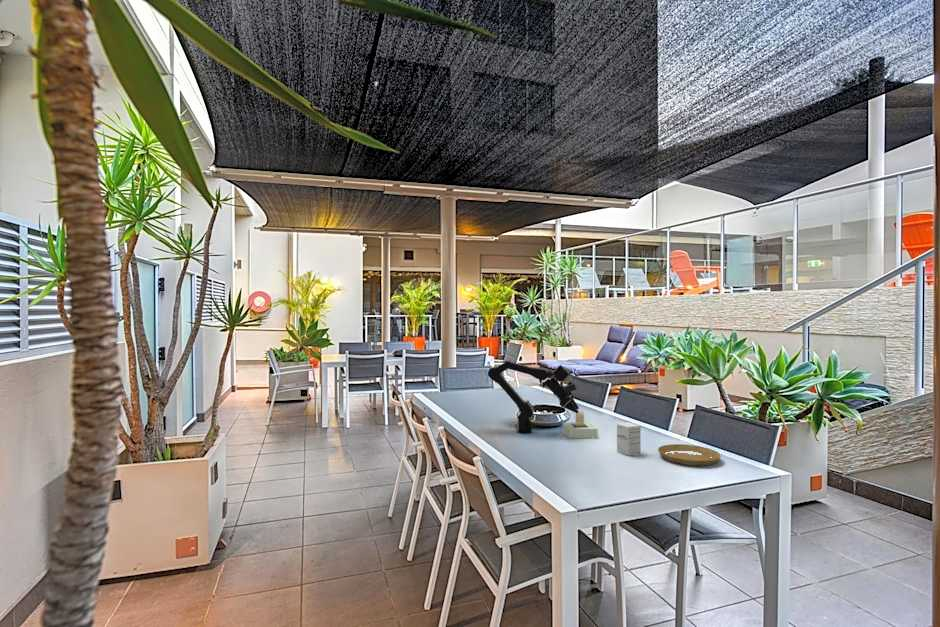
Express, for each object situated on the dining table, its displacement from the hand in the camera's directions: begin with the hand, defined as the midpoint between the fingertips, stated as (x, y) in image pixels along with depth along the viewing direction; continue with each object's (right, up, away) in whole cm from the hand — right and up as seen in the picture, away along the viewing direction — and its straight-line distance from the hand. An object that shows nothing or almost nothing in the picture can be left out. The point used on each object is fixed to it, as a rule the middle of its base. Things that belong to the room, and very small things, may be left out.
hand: (578, 410), depth 246 cm
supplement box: (+15, -13, -31) cm, 37 cm away
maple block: (+1, -12, 0) cm, 12 cm away
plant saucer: (+38, -13, -40) cm, 57 cm away
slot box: (+1, -12, 0) cm, 12 cm away
